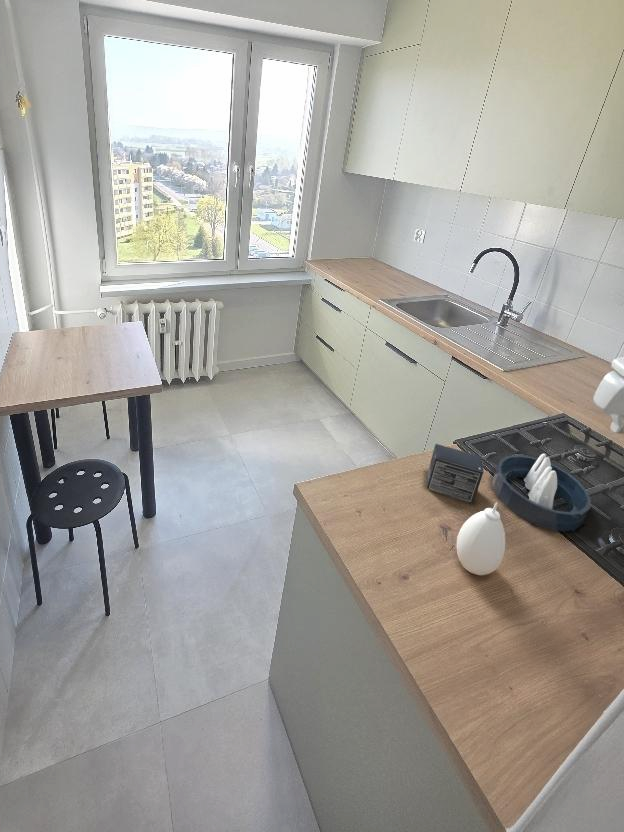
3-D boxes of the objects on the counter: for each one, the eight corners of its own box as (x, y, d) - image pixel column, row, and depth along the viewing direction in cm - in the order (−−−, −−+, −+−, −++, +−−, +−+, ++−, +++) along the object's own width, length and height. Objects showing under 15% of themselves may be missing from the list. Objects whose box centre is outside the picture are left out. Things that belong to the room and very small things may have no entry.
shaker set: (549, 520, 95) (566, 484, 91) (528, 513, 97) (544, 476, 92) (542, 485, 105) (557, 451, 100) (523, 479, 107) (537, 445, 102)
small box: (471, 487, 104) (482, 455, 100) (472, 506, 99) (485, 473, 94) (426, 473, 108) (435, 441, 104) (425, 491, 103) (435, 458, 98)
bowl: (553, 477, 109) (561, 459, 106) (599, 539, 92) (610, 519, 89) (479, 468, 111) (486, 450, 108) (511, 527, 94) (519, 508, 91)
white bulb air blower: (454, 579, 82) (479, 513, 75) (447, 545, 89) (469, 482, 82) (498, 591, 80) (528, 524, 73) (487, 555, 87) (513, 491, 80)
